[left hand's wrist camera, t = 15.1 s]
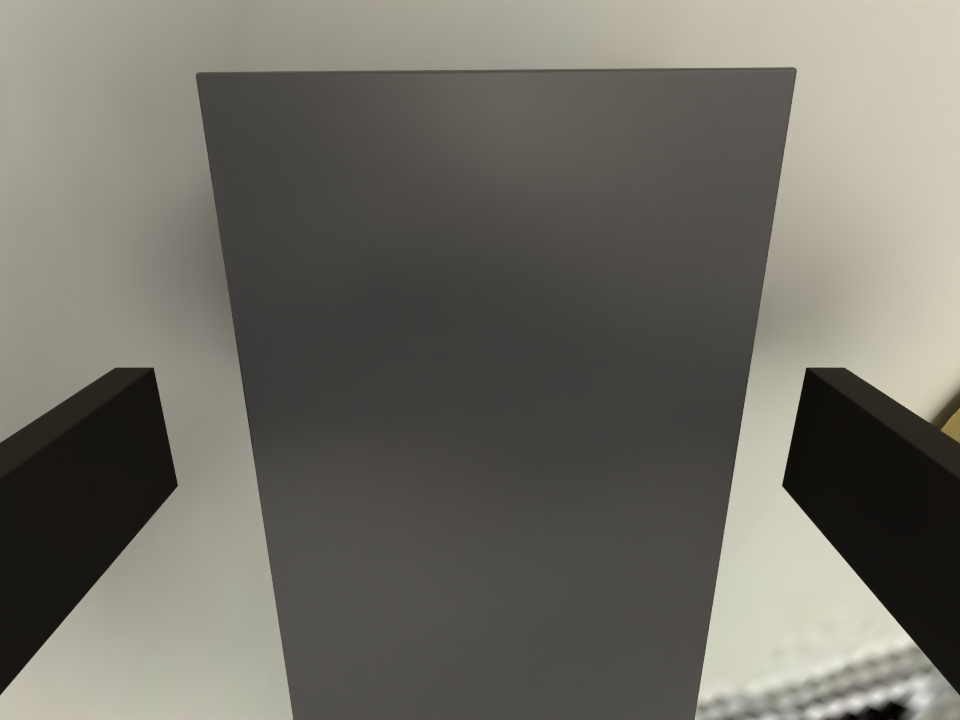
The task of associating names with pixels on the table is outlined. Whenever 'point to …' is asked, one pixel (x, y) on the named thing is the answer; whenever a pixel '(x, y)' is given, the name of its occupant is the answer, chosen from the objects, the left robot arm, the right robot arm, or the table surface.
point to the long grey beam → (495, 373)
